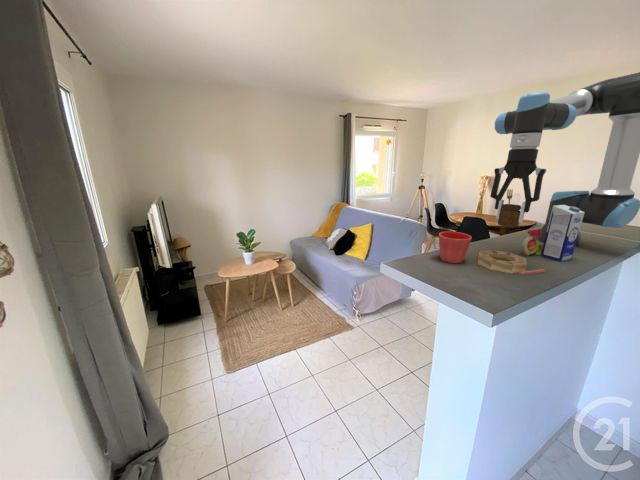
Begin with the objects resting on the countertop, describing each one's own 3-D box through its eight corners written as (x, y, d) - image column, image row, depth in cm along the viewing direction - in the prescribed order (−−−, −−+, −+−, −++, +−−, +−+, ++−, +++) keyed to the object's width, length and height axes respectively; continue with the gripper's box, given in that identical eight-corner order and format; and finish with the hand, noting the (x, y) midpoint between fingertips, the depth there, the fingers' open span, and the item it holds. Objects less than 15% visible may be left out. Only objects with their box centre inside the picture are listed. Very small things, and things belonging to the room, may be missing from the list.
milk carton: (551, 253, 106) (563, 204, 100) (571, 259, 100) (586, 206, 94) (540, 256, 103) (552, 205, 98) (560, 261, 98) (575, 208, 92)
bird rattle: (534, 263, 102) (550, 251, 104) (532, 239, 98) (549, 227, 100) (517, 258, 108) (533, 247, 109) (515, 234, 103) (531, 224, 105)
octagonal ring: (499, 256, 103) (500, 249, 102) (534, 270, 90) (536, 262, 89) (468, 259, 100) (470, 252, 99) (501, 274, 87) (502, 266, 86)
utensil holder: (502, 227, 88) (509, 190, 85) (493, 223, 94) (500, 188, 91) (522, 227, 87) (530, 191, 84) (512, 223, 93) (519, 189, 90)
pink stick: (542, 271, 89) (543, 269, 89) (545, 272, 89) (545, 270, 88) (518, 274, 87) (519, 271, 87) (521, 275, 86) (521, 272, 86)
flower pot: (467, 266, 93) (471, 240, 91) (434, 261, 99) (437, 236, 96) (468, 257, 102) (472, 233, 100) (437, 253, 107) (440, 230, 105)
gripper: (486, 149, 88) (475, 217, 94) (561, 146, 75) (542, 226, 81) (493, 149, 93) (482, 215, 99) (564, 147, 80) (546, 222, 86)
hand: (509, 220), depth 90 cm, fingers closed on utensil holder, 6 cm apart
